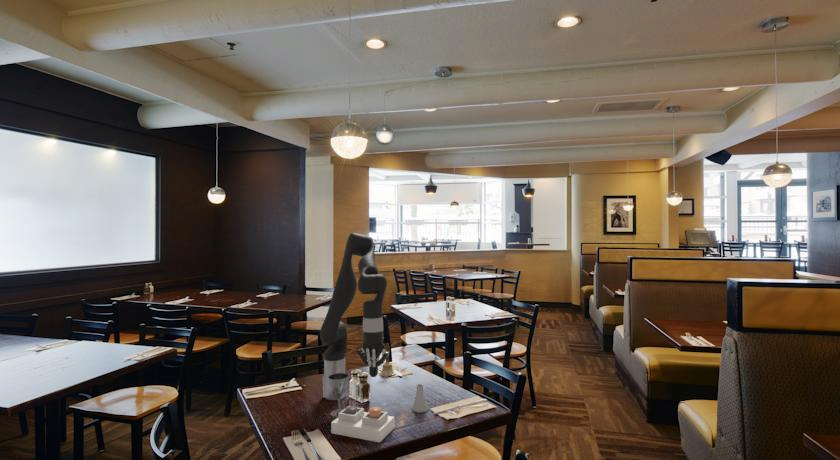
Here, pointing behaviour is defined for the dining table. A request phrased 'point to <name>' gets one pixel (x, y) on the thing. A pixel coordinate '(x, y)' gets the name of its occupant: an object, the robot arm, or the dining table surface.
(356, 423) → the console
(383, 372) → the hand bell
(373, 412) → the terracotta button
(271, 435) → the dining table surface
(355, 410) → the charcoal button
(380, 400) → the dining table surface
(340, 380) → the wine glass
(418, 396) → the flask
